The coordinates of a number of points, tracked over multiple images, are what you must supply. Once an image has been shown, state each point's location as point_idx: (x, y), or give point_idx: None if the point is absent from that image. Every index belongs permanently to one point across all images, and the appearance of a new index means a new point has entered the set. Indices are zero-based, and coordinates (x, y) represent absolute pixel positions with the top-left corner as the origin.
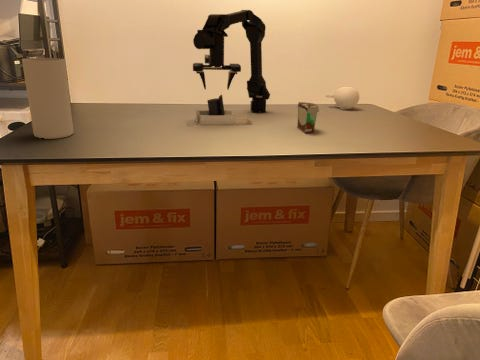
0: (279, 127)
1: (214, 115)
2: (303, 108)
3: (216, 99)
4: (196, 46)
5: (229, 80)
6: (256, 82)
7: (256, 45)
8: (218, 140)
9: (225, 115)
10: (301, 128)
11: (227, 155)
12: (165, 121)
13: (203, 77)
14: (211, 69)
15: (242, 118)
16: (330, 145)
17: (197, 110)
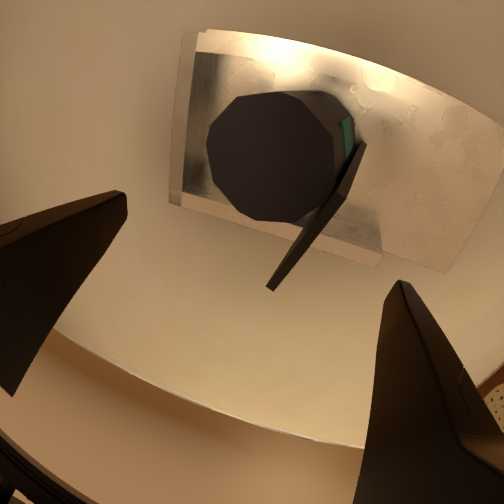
0: (482, 337)
1: (259, 226)
2: None
3: (283, 182)
4: None
5: (372, 435)
6: None
7: None
8: (224, 366)
9: (323, 247)
10: (489, 382)
11: (220, 411)
12: (76, 96)
13: (32, 339)
14: (29, 458)
15: (474, 162)
16: None
17: (189, 43)
